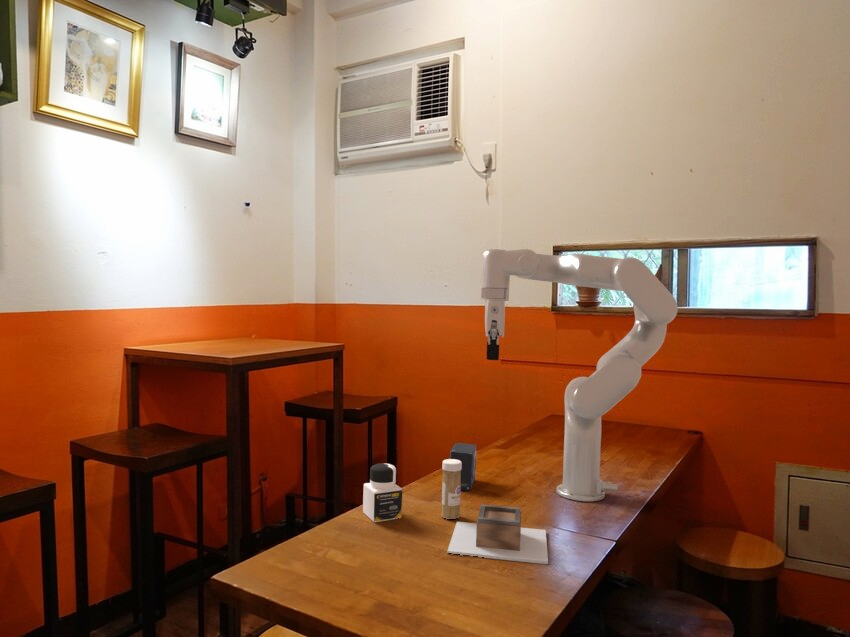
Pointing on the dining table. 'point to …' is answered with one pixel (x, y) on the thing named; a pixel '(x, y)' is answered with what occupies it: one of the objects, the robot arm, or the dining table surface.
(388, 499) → the medicine bottle
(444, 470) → the sprinkles bottle
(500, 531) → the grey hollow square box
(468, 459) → the small box
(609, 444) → the dining table surface
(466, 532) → the white rectangular board
